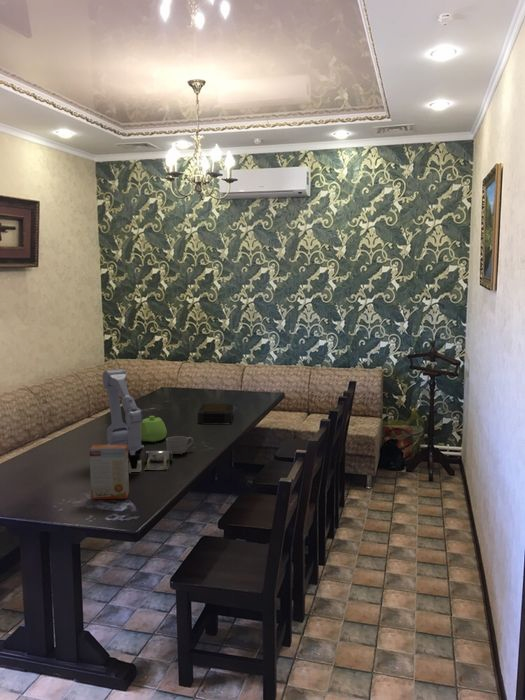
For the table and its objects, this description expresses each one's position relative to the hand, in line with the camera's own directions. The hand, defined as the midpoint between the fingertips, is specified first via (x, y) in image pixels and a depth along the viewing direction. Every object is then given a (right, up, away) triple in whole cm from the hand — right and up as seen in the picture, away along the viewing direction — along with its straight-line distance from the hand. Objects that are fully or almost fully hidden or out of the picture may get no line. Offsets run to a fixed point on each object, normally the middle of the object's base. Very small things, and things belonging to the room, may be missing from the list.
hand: (135, 465), depth 264 cm
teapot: (-2, +4, +50) cm, 50 cm away
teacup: (+16, +1, +28) cm, 32 cm away
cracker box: (-3, -7, -31) cm, 32 cm away
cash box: (+29, +9, +97) cm, 102 cm away
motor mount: (+9, -1, +8) cm, 12 cm away
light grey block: (0, -3, 0) cm, 3 cm away
